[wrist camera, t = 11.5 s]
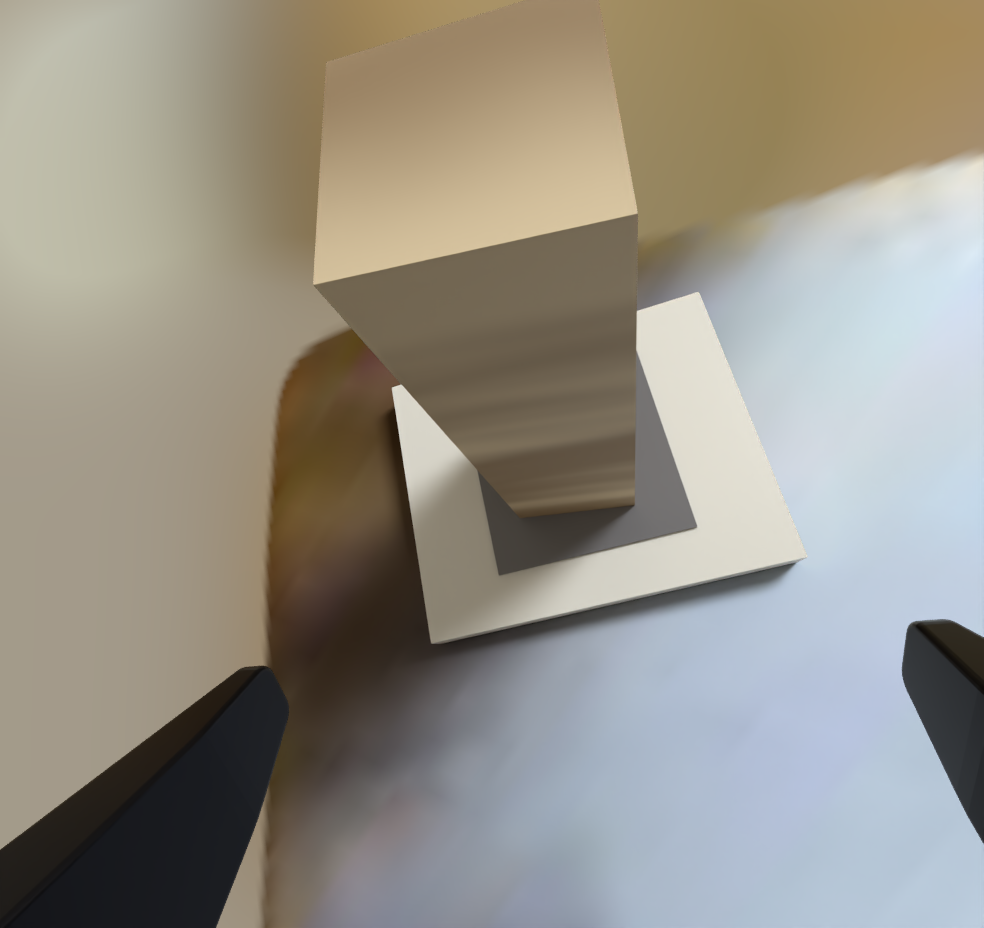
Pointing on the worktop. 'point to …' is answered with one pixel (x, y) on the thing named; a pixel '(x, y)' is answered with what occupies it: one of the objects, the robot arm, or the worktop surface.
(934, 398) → the worktop surface
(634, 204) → the wooden block
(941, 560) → the worktop surface
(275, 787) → the worktop surface
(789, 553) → the mat
